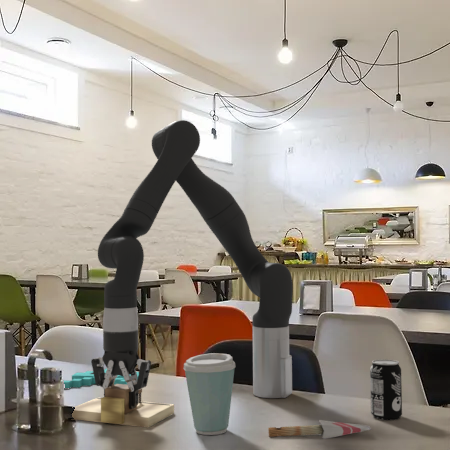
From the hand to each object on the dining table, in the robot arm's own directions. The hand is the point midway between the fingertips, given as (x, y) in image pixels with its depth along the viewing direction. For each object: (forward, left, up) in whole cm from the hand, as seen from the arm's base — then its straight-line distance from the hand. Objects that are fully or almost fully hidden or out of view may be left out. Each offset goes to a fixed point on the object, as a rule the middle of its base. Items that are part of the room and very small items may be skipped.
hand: (121, 406), depth 138 cm
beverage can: (-53, -22, -3) cm, 58 cm away
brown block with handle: (0, -2, -2) cm, 3 cm away
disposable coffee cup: (-21, +1, -3) cm, 21 cm away
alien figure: (+25, -34, -4) cm, 42 cm away
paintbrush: (-43, -4, -3) cm, 43 cm away
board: (+2, -3, -3) cm, 5 cm away
